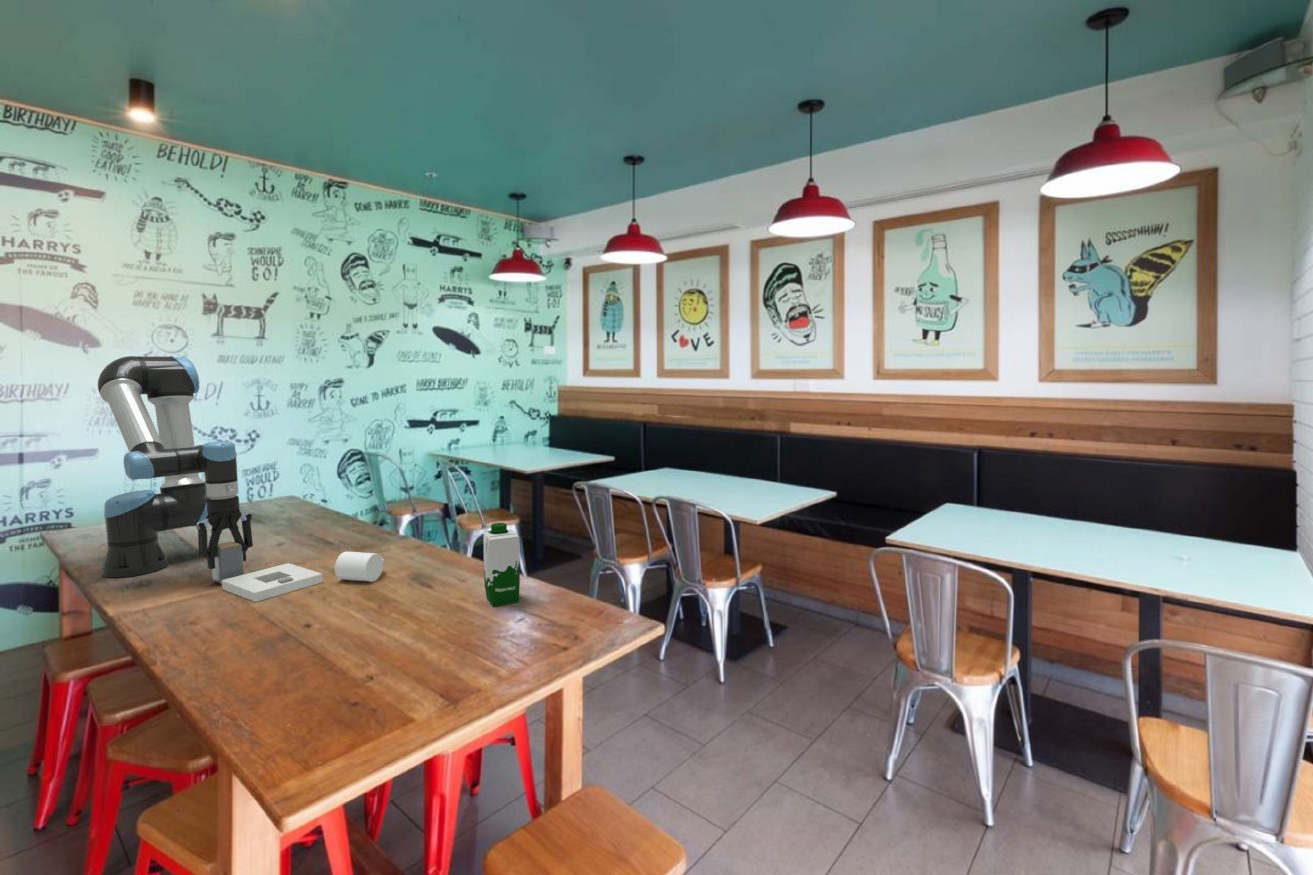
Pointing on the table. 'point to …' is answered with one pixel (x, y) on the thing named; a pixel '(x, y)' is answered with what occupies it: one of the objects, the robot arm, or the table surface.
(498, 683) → the table surface
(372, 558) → the mug
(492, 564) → the milk carton
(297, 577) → the socket plate
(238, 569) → the plug
